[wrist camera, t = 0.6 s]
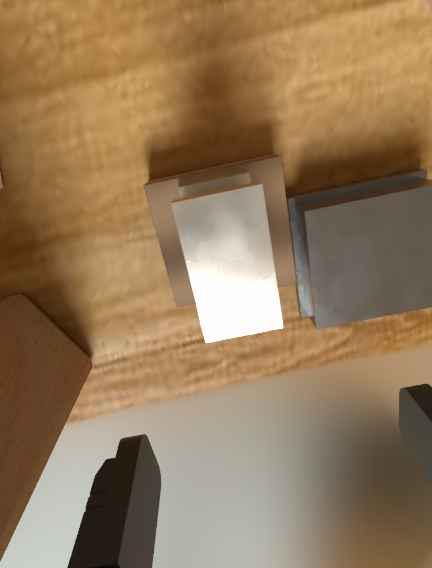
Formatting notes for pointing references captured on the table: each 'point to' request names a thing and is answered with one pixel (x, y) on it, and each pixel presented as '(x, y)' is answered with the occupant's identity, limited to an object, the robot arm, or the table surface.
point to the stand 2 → (363, 248)
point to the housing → (228, 255)
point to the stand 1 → (258, 168)
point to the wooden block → (31, 401)
